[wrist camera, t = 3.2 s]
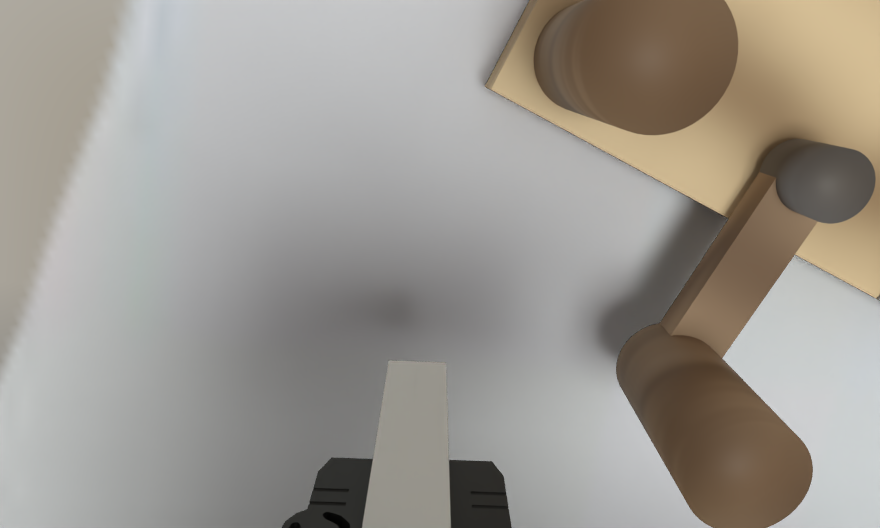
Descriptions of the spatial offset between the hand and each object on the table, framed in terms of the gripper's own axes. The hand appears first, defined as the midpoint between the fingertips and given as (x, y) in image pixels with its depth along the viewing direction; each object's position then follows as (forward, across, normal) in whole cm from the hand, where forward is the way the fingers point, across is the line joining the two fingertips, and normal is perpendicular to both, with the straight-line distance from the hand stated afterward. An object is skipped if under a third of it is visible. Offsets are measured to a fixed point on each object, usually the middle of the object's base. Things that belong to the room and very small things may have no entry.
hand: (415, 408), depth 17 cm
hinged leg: (+4, +9, +3) cm, 10 cm away
